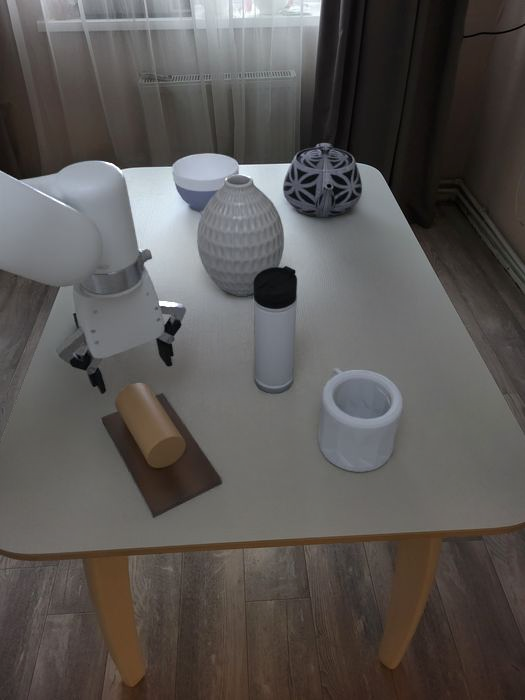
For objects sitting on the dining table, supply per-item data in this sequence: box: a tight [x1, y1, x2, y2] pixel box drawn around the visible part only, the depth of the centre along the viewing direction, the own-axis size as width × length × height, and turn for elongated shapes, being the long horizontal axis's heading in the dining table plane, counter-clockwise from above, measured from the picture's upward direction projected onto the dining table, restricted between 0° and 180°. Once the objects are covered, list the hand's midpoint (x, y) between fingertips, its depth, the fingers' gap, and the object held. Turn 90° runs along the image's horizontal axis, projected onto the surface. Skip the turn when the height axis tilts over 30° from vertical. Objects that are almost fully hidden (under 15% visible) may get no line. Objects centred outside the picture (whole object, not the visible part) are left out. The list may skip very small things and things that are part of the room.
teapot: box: [282, 142, 363, 218], centre depth 132 cm, size 19×31×15 cm, turn 179°
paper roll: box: [114, 382, 186, 468], centre depth 79 cm, size 6×12×6 cm, turn 32°
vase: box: [196, 174, 285, 297], centre depth 104 cm, size 16×16×22 cm
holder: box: [101, 392, 222, 519], centre depth 79 cm, size 10×19×1 cm, turn 32°
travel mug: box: [252, 265, 298, 394], centre depth 84 cm, size 6×7×20 cm
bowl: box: [171, 153, 240, 213], centre depth 135 cm, size 16×16×10 cm
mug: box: [317, 367, 404, 473], centre depth 78 cm, size 14×11×10 cm
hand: (134, 373), depth 77 cm, fingers open, 9 cm apart
